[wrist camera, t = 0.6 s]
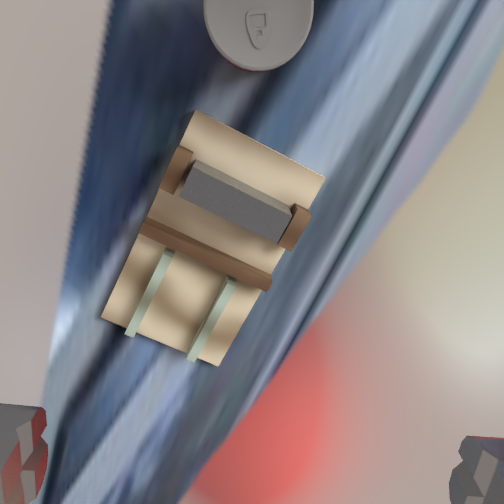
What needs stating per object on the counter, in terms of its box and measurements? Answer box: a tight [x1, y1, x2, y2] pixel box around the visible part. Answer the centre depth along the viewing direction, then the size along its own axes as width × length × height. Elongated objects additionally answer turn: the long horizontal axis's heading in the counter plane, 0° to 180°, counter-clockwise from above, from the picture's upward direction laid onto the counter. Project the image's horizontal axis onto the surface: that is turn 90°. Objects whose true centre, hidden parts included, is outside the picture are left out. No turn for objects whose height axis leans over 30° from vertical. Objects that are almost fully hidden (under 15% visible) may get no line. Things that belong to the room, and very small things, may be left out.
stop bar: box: [179, 159, 292, 244], centre depth 45 cm, size 10×3×4 cm, turn 63°
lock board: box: [101, 110, 326, 366], centre depth 48 cm, size 24×14×4 cm, turn 153°
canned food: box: [203, 0, 314, 72], centre depth 37 cm, size 8×8×11 cm
